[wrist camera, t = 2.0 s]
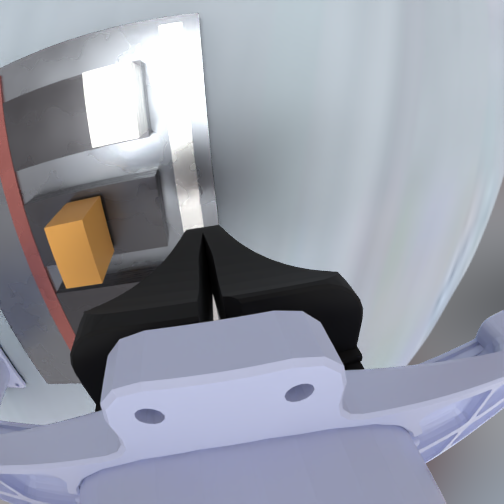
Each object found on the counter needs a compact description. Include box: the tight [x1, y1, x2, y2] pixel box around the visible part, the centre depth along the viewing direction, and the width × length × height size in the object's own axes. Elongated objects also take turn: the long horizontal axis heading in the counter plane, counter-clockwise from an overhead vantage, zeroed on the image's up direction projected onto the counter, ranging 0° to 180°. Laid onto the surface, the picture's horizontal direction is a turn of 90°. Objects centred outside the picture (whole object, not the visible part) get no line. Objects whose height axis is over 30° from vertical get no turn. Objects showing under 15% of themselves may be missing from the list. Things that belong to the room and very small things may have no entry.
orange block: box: [44, 196, 114, 289], centre depth 14 cm, size 2×3×3 cm, turn 4°
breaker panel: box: [0, 13, 220, 384], centre depth 16 cm, size 18×25×6 cm
